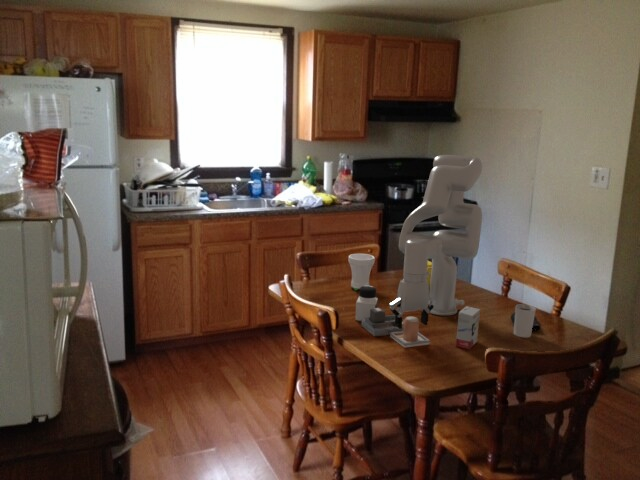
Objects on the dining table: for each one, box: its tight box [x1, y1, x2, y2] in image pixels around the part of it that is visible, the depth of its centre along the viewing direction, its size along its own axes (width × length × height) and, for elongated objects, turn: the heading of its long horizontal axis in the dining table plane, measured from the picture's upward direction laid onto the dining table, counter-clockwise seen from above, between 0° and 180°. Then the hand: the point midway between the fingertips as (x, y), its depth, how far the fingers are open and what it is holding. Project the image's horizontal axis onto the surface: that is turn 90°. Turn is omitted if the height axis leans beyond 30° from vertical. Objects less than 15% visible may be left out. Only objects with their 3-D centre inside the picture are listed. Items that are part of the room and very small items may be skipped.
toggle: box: [370, 307, 386, 323], centre depth 201 cm, size 4×4×5 cm
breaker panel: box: [361, 314, 404, 337], centre depth 203 cm, size 14×10×4 cm
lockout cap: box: [403, 315, 421, 342], centre depth 193 cm, size 5×5×7 cm
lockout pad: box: [389, 331, 431, 348], centre depth 194 cm, size 10×10×1 cm
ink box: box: [455, 305, 481, 350], centre depth 192 cm, size 9×5×12 cm, turn 148°
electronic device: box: [510, 312, 541, 332], centre depth 213 cm, size 9×6×15 cm
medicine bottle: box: [355, 285, 379, 322], centre depth 212 cm, size 7×7×12 cm
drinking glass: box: [513, 303, 537, 338], centre depth 202 cm, size 7×7×10 cm
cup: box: [348, 253, 376, 292], centre depth 246 cm, size 11×11×14 cm
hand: (411, 325), depth 193 cm, fingers open, 9 cm apart
